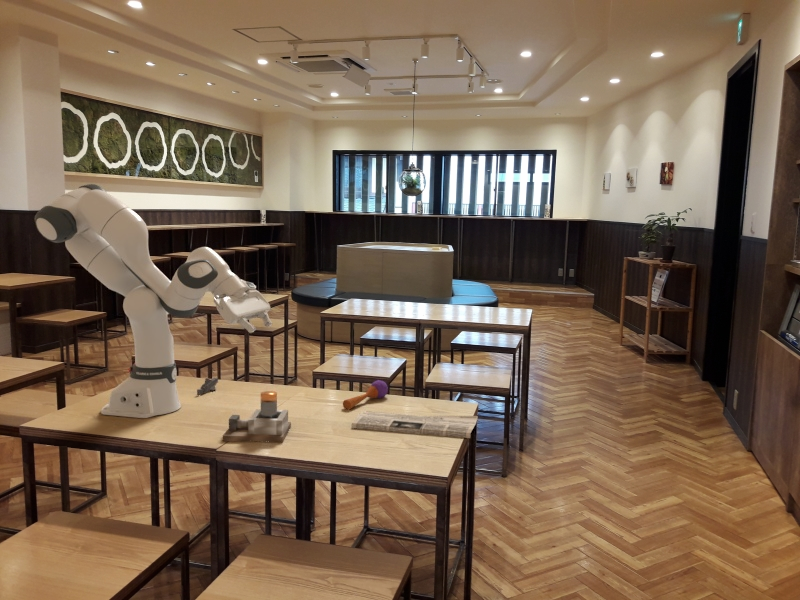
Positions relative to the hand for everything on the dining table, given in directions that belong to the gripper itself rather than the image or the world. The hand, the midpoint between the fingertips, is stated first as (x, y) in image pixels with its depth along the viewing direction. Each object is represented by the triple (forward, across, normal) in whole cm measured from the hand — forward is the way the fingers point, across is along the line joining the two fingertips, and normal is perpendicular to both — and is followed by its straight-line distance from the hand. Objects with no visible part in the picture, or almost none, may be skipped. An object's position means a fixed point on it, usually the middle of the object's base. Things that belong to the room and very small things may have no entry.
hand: (261, 328), depth 174 cm
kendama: (+36, +28, +4) cm, 45 cm away
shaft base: (+23, -11, +16) cm, 30 cm away
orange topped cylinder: (+24, -10, +13) cm, 29 cm away
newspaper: (+51, +10, -11) cm, 53 cm away
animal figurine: (-3, +20, +42) cm, 47 cm away
